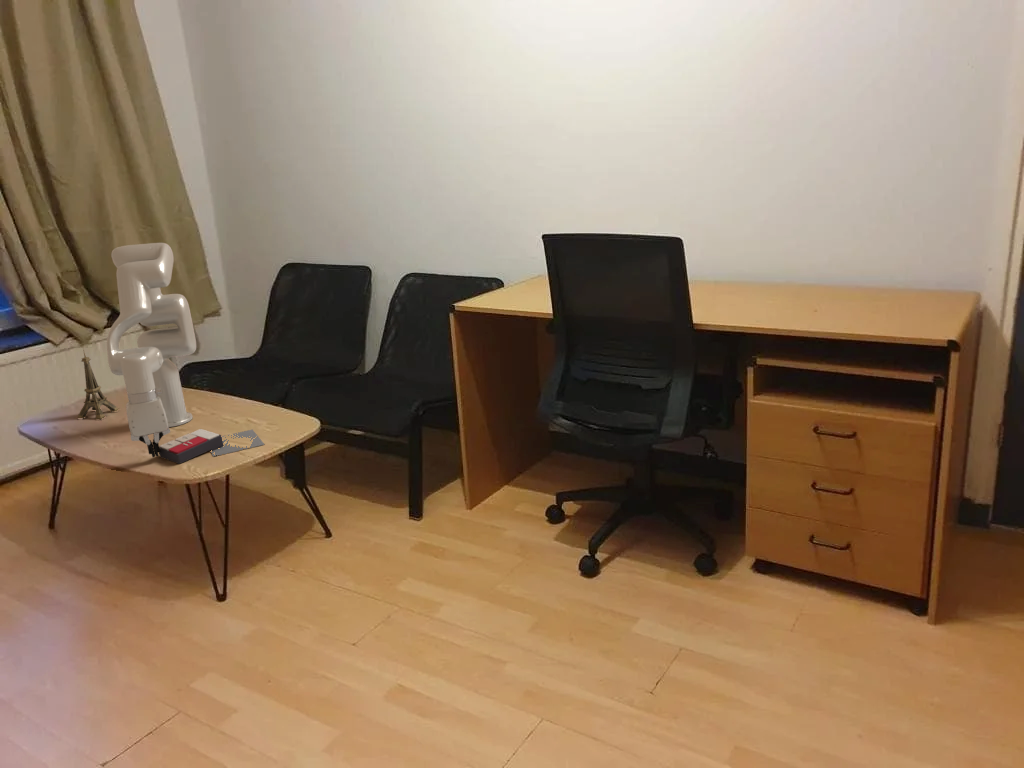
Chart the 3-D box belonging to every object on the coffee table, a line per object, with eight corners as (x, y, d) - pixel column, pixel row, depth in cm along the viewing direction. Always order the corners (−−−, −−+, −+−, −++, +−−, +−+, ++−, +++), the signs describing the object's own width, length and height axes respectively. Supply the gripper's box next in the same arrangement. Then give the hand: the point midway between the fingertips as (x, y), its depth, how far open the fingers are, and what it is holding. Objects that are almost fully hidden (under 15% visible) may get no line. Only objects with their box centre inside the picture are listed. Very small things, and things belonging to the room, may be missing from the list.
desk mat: (203, 440, 250) (203, 440, 250) (252, 429, 257) (252, 429, 257) (213, 456, 236) (213, 456, 236) (264, 444, 243) (264, 444, 243)
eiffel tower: (96, 409, 287) (80, 342, 280) (121, 409, 285) (106, 342, 278) (75, 420, 278) (58, 350, 270) (101, 420, 275) (85, 350, 268)
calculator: (156, 445, 238) (200, 426, 249) (159, 458, 239) (204, 439, 250) (176, 452, 231) (221, 432, 242) (179, 466, 233) (224, 445, 244)
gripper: (168, 387, 237) (180, 445, 243) (113, 398, 230) (126, 457, 236) (171, 394, 231) (183, 453, 236) (115, 405, 224) (128, 465, 229)
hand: (155, 455), depth 236 cm, fingers closed
